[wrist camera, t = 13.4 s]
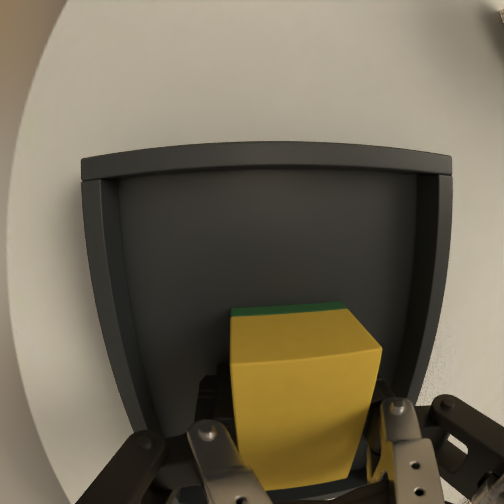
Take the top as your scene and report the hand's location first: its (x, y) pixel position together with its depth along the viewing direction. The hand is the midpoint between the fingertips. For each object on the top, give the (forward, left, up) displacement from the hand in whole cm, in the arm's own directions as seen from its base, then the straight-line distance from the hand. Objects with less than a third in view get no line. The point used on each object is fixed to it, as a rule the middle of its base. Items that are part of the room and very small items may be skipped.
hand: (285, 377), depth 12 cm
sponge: (0, 0, 0) cm, 0 cm away
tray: (0, 0, -1) cm, 1 cm away
